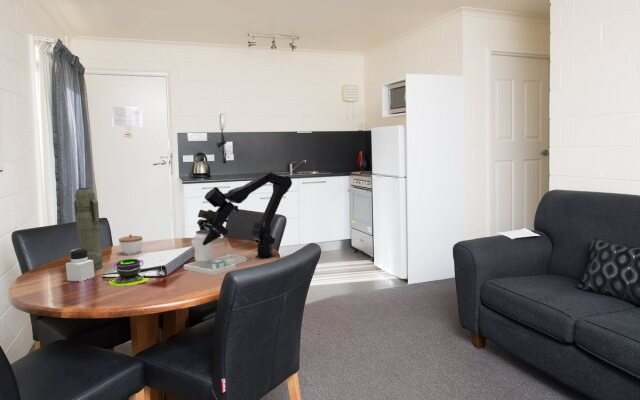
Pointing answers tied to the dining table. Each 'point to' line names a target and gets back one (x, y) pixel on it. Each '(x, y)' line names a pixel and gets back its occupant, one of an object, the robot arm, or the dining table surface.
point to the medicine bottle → (79, 266)
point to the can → (202, 247)
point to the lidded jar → (131, 244)
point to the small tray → (232, 259)
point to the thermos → (88, 224)
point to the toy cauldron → (128, 272)
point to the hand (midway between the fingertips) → (199, 243)
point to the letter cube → (217, 264)
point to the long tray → (208, 267)
